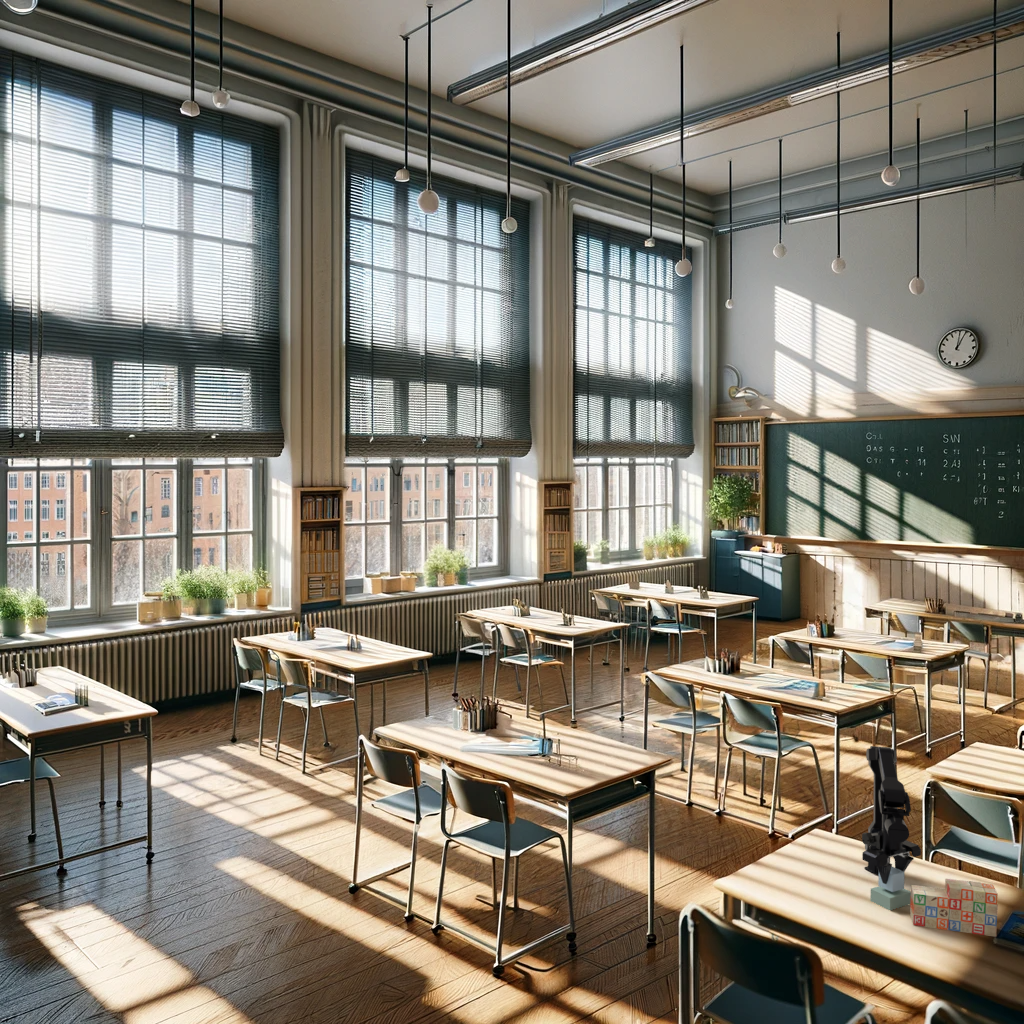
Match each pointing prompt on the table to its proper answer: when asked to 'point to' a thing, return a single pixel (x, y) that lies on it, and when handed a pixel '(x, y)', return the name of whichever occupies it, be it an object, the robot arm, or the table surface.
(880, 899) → the pale green block
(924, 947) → the table surface
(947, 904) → the stack of blocks
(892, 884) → the cube
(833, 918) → the table surface
